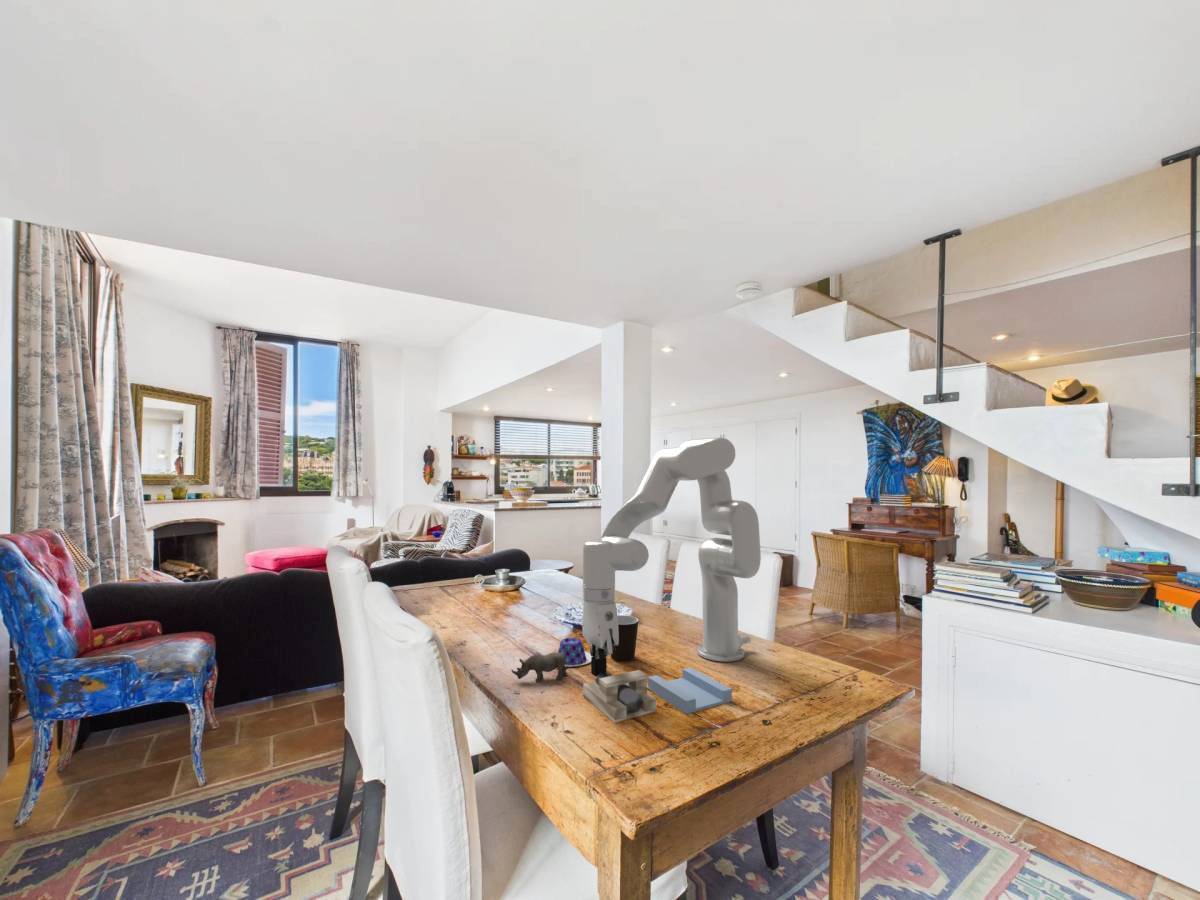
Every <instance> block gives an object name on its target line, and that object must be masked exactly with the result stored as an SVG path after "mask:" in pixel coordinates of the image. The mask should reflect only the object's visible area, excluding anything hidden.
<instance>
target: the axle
mask: <svg viewBox="0 0 1200 900" xmlns="http://www.w3.org/2000/svg"><path fill="white" fill-rule="evenodd" d="M609 676H613V674H611V673H610V672H608V671H602V672H600V673H599V674H598V675H597V676H596V677H595V683H596V684H597V685H599V679H600V678H604V677H609ZM618 701H620V702H621V703H622V704H623V705H625V706H626V710H627V711H628V712H630V713H635V712H637V711H638V710H639V709H640V707H641V705H642V697H641V695H640V694H639V693H637V692H636V691H634V690H633V689H631V688H630V687H629V686H627V685H626V684H621V685H618Z"/></svg>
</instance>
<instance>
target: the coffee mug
mask: <svg viewBox="0 0 1200 900" xmlns="http://www.w3.org/2000/svg"><path fill="white" fill-rule="evenodd" d="M617 616H618V631H619V644H618V645H617V646H614V645H612V652H613V653H612V654H610V659H612V661H616V662H622V663H625V662H626V663H627V662H630V661H633V660H635V657H636V649H637V648H636V647H637V638H638V628H639V619H638V618H637V617H635V616H631V615H622V614H621V615H618V614H617Z"/></svg>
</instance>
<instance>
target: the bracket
mask: <svg viewBox="0 0 1200 900" xmlns="http://www.w3.org/2000/svg"><path fill="white" fill-rule="evenodd" d="M612 675H613V674H612ZM621 684H626V685H627V686H629V687H630V688H631V689H633V690H634V691H636V692H637V693H639V694H640V695H641V697H642V705H641V707H640V709H639V710H638V711H637V712H635V713H630V712H628V711H627V710H626V706H625V705H623V704H622V703H621V702H620V701H618V685H621ZM647 690H648V674H647V673H645V672H644V671H642V670H640V669H637V670H633V671H627V672H623V673H619V674H614V675H613V676H609V677H604V678H600V679H599V685H597V684H596V681H591V682H586V683H583V684H582V696H583V697H584V698H585V699H587V700H588V702H590V703H591V704H593V706H595V707H596V708H597V709H598V710H599V711H601V713H603V714H604V715H605V716H606V717H608V718H609V720H611V721H612V722H613V723H619V722H622V721H626V720H630V719H633V718H636V717H640V716H644V715H648V714H651V713H655V712H657V698H656V697H654V696H652V695H651V694H650V693H648V691H647Z"/></svg>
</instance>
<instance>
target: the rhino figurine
mask: <svg viewBox="0 0 1200 900" xmlns="http://www.w3.org/2000/svg"><path fill="white" fill-rule="evenodd" d="M557 652H558V651H557ZM519 662H520V664H521V667H516V670H513V669H511V672H512V673H513V674H514V675H516V677H517V679H518V680H520V679H522V678H524V677H526V676H527V675H528V674H529V672H530V671H535V674H536V679H535V682H536V683H541V682H542V678H543V677H544V673H543V672H545V673H550V672H552V671H554V670H555V669H557V676H556V678H555V680H557V681H558V680H559V681H561V680H562V679H563V676H567V674H568V672H567V669H568V668H567V667H568V666H565V665H566V664H565V663H566V658H565V655H564V654H562V653H561V652H558V653H556V652H551V653H548V654H539V653H536V654H532V655H531V656H529V657H528V658H526V659H521V658H519Z"/></svg>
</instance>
